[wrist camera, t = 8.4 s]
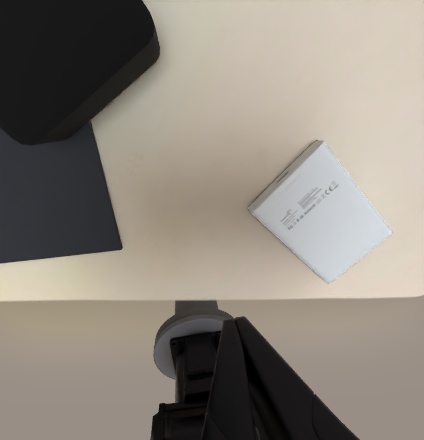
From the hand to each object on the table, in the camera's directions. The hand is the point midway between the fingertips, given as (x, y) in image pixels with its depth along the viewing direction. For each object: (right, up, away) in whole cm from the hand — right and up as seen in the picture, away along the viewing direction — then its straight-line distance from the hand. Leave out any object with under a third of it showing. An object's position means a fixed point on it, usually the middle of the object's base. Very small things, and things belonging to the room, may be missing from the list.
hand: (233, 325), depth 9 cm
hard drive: (+10, +5, +14) cm, 17 cm away
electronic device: (-8, +12, +5) cm, 15 cm away
